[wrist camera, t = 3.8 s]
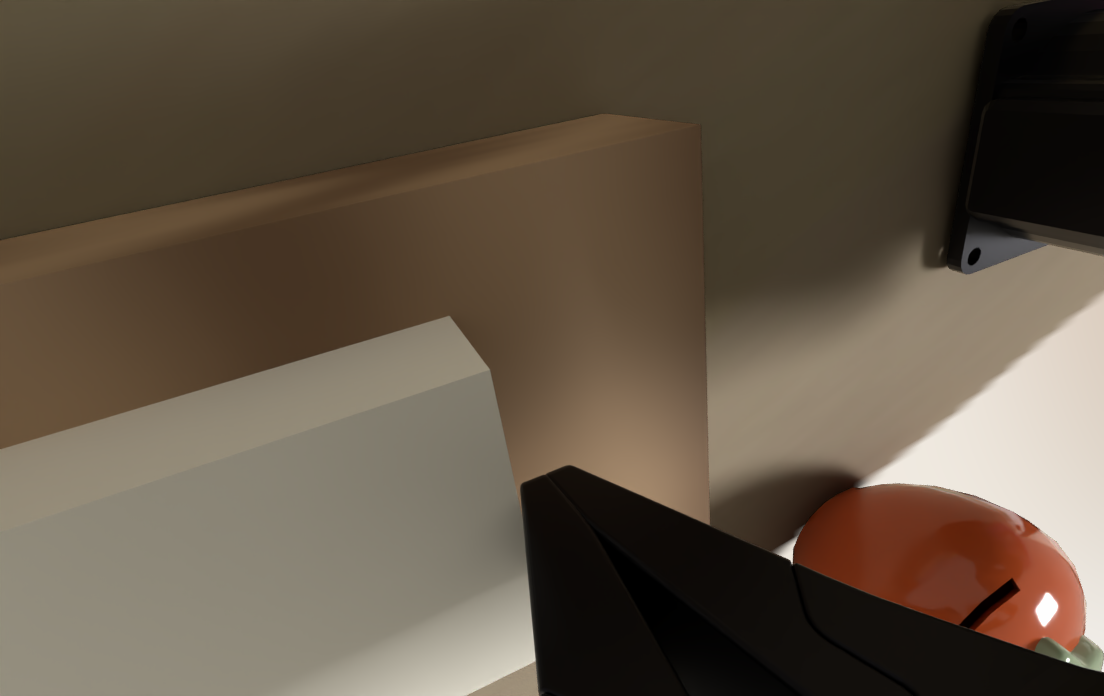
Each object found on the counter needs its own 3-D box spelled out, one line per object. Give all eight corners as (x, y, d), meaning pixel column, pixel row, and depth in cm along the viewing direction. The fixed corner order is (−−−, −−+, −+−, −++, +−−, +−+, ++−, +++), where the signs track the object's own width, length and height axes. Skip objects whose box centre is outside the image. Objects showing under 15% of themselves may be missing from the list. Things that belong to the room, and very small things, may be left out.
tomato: (862, 402, 18) (1217, 596, 11) (944, 489, 22) (1241, 670, 15) (706, 591, 18) (956, 884, 12) (815, 642, 22) (1047, 882, 16)
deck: (603, 113, 11) (700, 124, 9) (637, 469, 15) (710, 547, 13) (-130, 267, 8) (-313, 355, 5) (157, 668, 12) (127, 827, 9)
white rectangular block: (450, 316, 8) (489, 369, 7) (511, 570, 11) (552, 652, 9) (-200, 508, 6) (-350, 647, 5) (54, 772, 9) (9, 921, 7)
